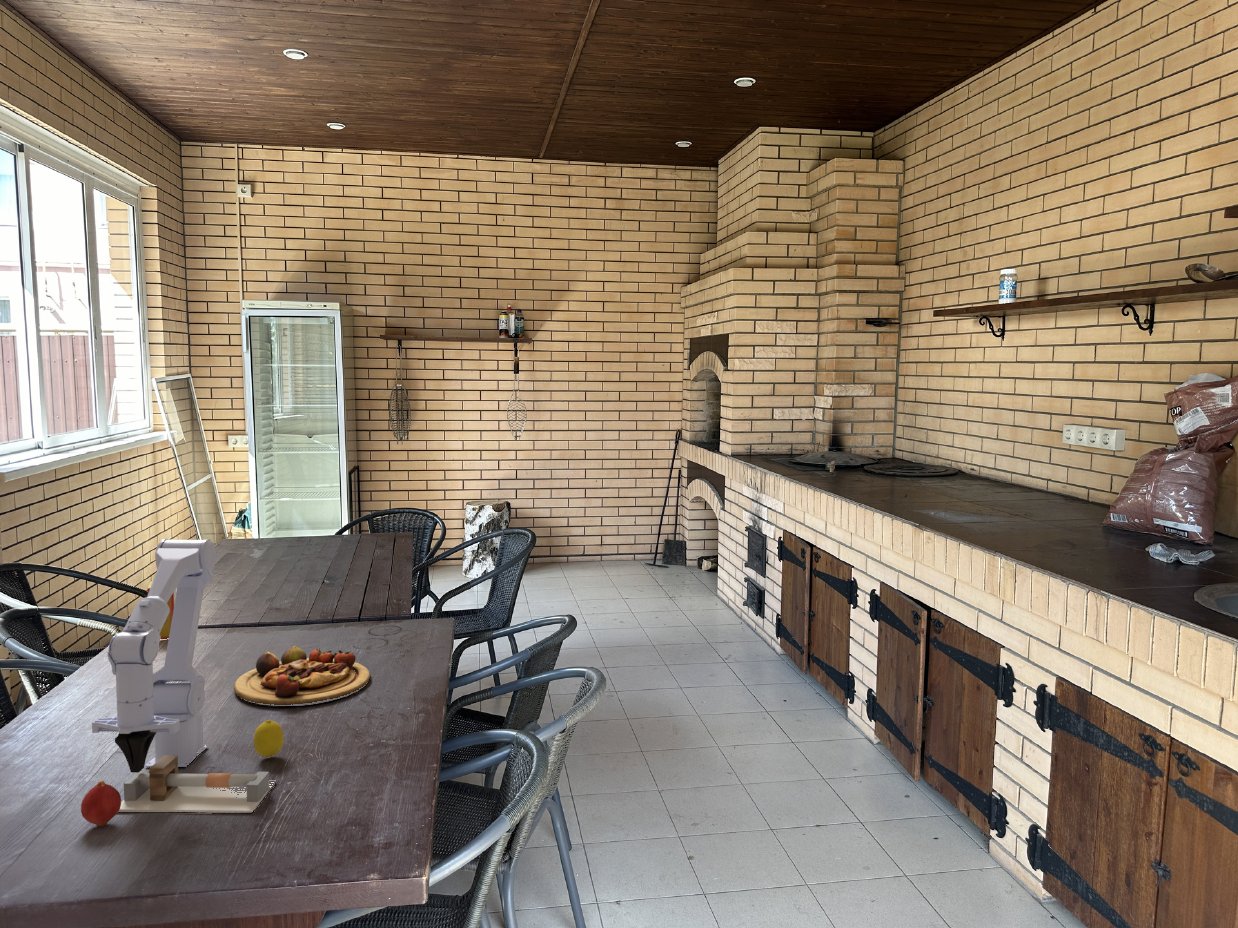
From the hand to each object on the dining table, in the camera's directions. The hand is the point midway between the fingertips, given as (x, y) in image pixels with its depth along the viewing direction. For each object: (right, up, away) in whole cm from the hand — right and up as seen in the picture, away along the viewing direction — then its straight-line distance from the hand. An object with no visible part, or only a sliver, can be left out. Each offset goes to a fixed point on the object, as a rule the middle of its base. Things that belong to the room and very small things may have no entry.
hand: (137, 769), depth 149 cm
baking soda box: (-47, +5, +93) cm, 104 cm away
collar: (+5, -5, +1) cm, 7 cm away
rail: (+11, -5, +1) cm, 12 cm away
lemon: (+17, -4, +17) cm, 24 cm away
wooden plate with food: (+8, -1, +58) cm, 58 cm away
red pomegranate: (-1, -6, -9) cm, 11 cm away
